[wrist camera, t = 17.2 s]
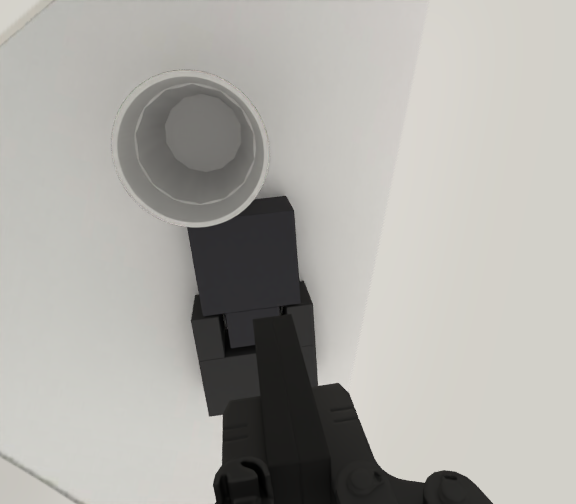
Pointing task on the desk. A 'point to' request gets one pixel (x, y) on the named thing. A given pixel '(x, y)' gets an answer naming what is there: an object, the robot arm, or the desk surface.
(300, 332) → the notch pad
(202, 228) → the tab pad
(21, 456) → the desk surface
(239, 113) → the cup
